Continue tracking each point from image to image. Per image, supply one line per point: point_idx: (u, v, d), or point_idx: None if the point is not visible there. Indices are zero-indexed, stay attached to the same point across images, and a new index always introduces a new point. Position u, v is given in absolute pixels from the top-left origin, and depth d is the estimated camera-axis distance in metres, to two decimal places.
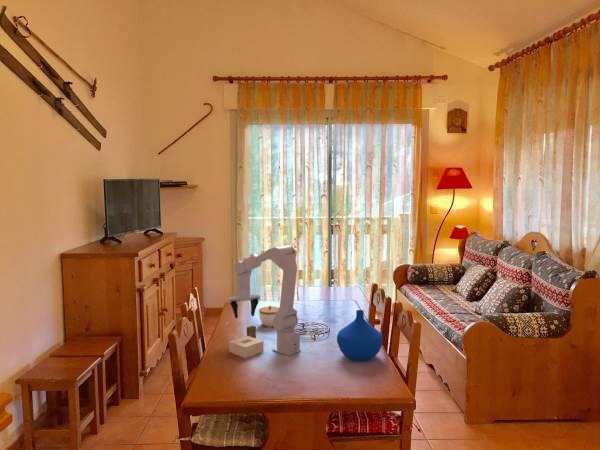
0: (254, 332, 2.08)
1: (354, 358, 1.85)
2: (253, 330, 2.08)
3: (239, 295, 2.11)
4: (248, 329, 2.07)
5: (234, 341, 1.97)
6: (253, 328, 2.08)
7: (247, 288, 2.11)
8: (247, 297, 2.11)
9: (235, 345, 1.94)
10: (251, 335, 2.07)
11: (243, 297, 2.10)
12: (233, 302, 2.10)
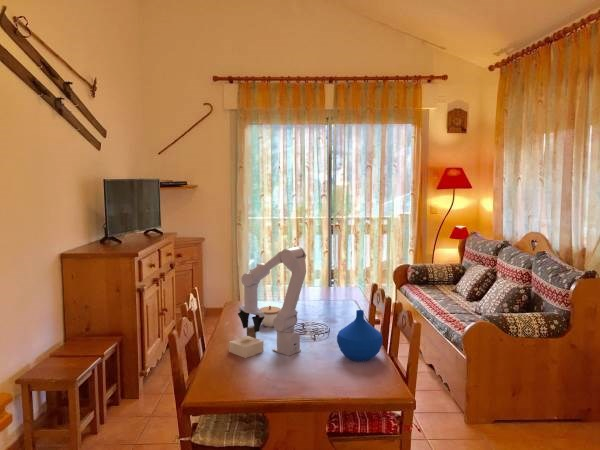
0: (254, 332, 2.08)
1: (354, 358, 1.85)
2: (253, 330, 2.08)
3: None
4: (248, 329, 2.07)
5: (234, 341, 1.97)
6: (253, 328, 2.08)
7: (247, 301, 2.04)
8: (247, 310, 2.05)
9: (235, 345, 1.94)
10: (251, 335, 2.07)
11: (244, 309, 2.06)
12: (241, 311, 2.10)
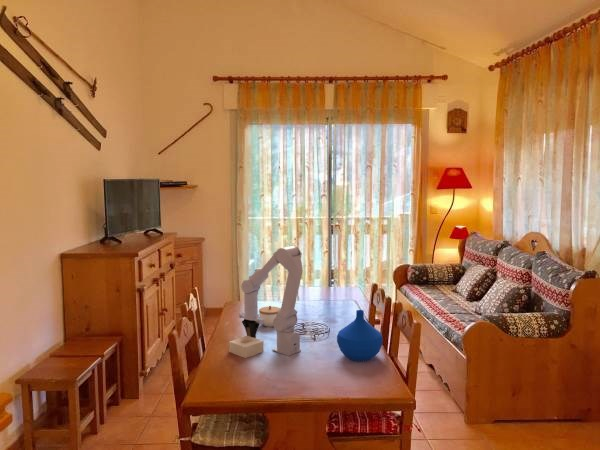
0: None
1: (354, 358, 1.85)
2: None
3: None
4: (248, 329, 2.07)
5: (234, 341, 1.97)
6: None
7: (247, 308, 2.05)
8: (247, 317, 2.05)
9: (235, 345, 1.94)
10: None
11: (244, 316, 2.06)
12: None
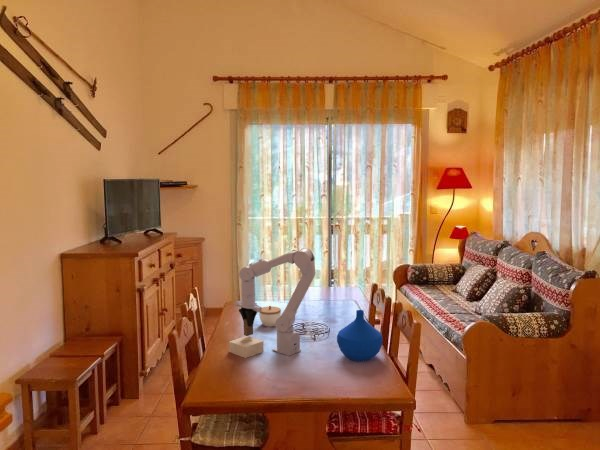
0: None
1: (354, 358, 1.85)
2: None
3: None
4: (245, 321, 2.00)
5: (234, 341, 1.97)
6: None
7: (244, 296, 1.98)
8: (244, 305, 1.98)
9: (235, 345, 1.94)
10: (248, 327, 2.00)
11: (241, 304, 1.99)
12: None
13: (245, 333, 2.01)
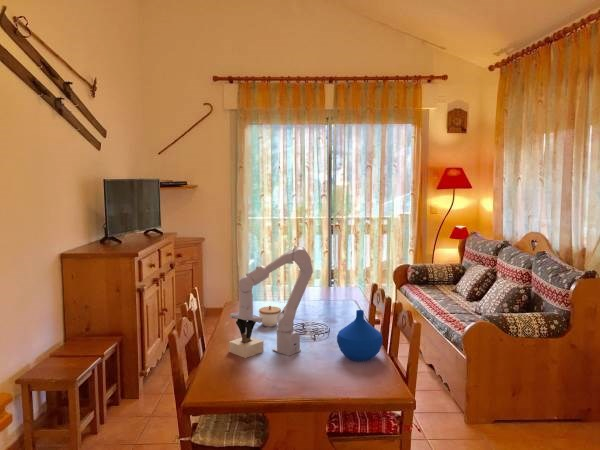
0: (249, 338, 1.97)
1: (354, 358, 1.85)
2: None
3: (239, 313, 1.96)
4: (244, 335, 1.95)
5: (234, 341, 1.97)
6: None
7: (244, 307, 1.93)
8: (244, 317, 1.93)
9: (235, 345, 1.94)
10: (247, 341, 1.96)
11: (240, 316, 1.94)
12: None
13: None
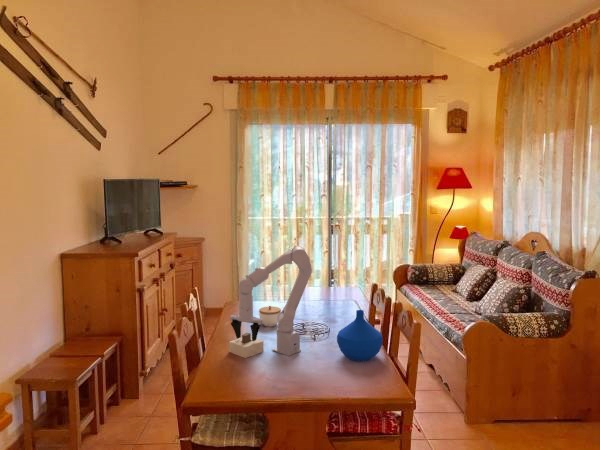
0: (249, 339, 1.97)
1: (354, 358, 1.85)
2: (248, 337, 1.97)
3: (239, 315, 1.96)
4: (244, 337, 1.95)
5: (234, 341, 1.97)
6: (248, 335, 1.97)
7: (244, 309, 1.93)
8: (244, 319, 1.93)
9: (235, 345, 1.94)
10: None
11: (240, 318, 1.94)
12: (234, 321, 1.98)
13: None
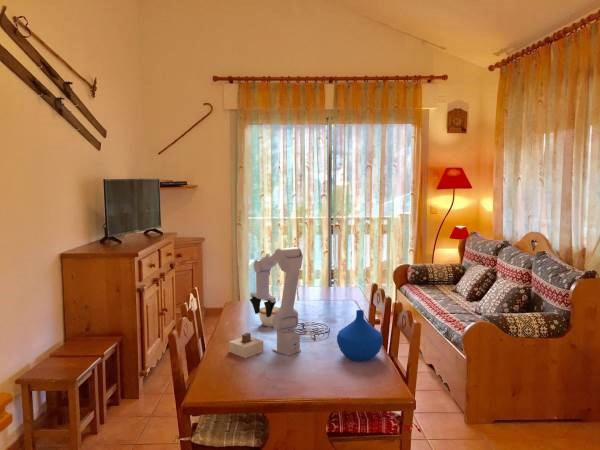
0: (249, 339, 1.97)
1: (354, 358, 1.85)
2: (248, 337, 1.97)
3: None
4: (244, 337, 1.95)
5: (234, 341, 1.97)
6: (248, 335, 1.97)
7: (259, 287, 2.12)
8: (259, 296, 2.12)
9: (235, 345, 1.94)
10: None
11: (256, 295, 2.13)
12: (253, 297, 2.18)
13: None
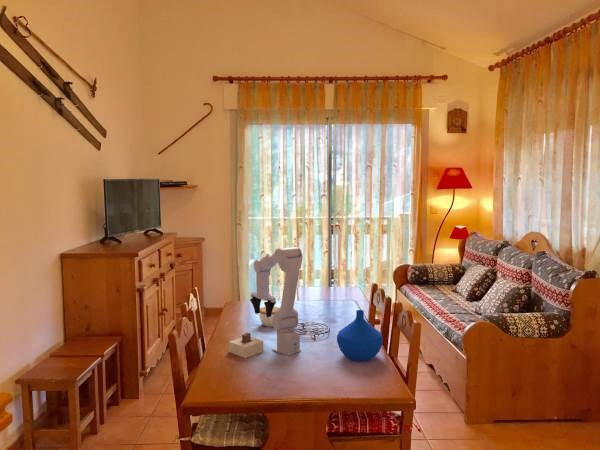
0: (249, 339, 1.97)
1: (354, 358, 1.85)
2: (248, 337, 1.97)
3: None
4: (244, 337, 1.95)
5: (234, 341, 1.97)
6: (248, 335, 1.97)
7: (259, 287, 2.12)
8: (259, 296, 2.12)
9: (235, 345, 1.94)
10: None
11: (256, 295, 2.13)
12: (253, 297, 2.18)
13: None
